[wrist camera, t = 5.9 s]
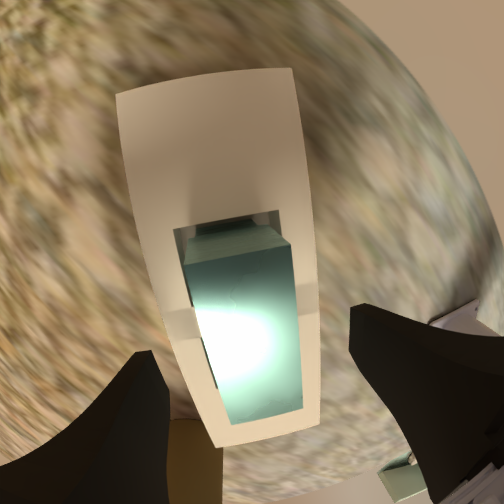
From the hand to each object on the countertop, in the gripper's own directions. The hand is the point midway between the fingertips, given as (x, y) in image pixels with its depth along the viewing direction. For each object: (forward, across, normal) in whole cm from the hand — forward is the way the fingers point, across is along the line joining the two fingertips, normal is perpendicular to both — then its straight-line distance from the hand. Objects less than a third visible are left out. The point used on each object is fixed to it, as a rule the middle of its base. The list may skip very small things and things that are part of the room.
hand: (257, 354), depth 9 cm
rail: (+7, 0, 0) cm, 7 cm away
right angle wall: (+8, -24, +39) cm, 47 cm away
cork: (+7, +7, +14) cm, 17 cm away
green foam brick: (+5, 0, 0) cm, 5 cm away
